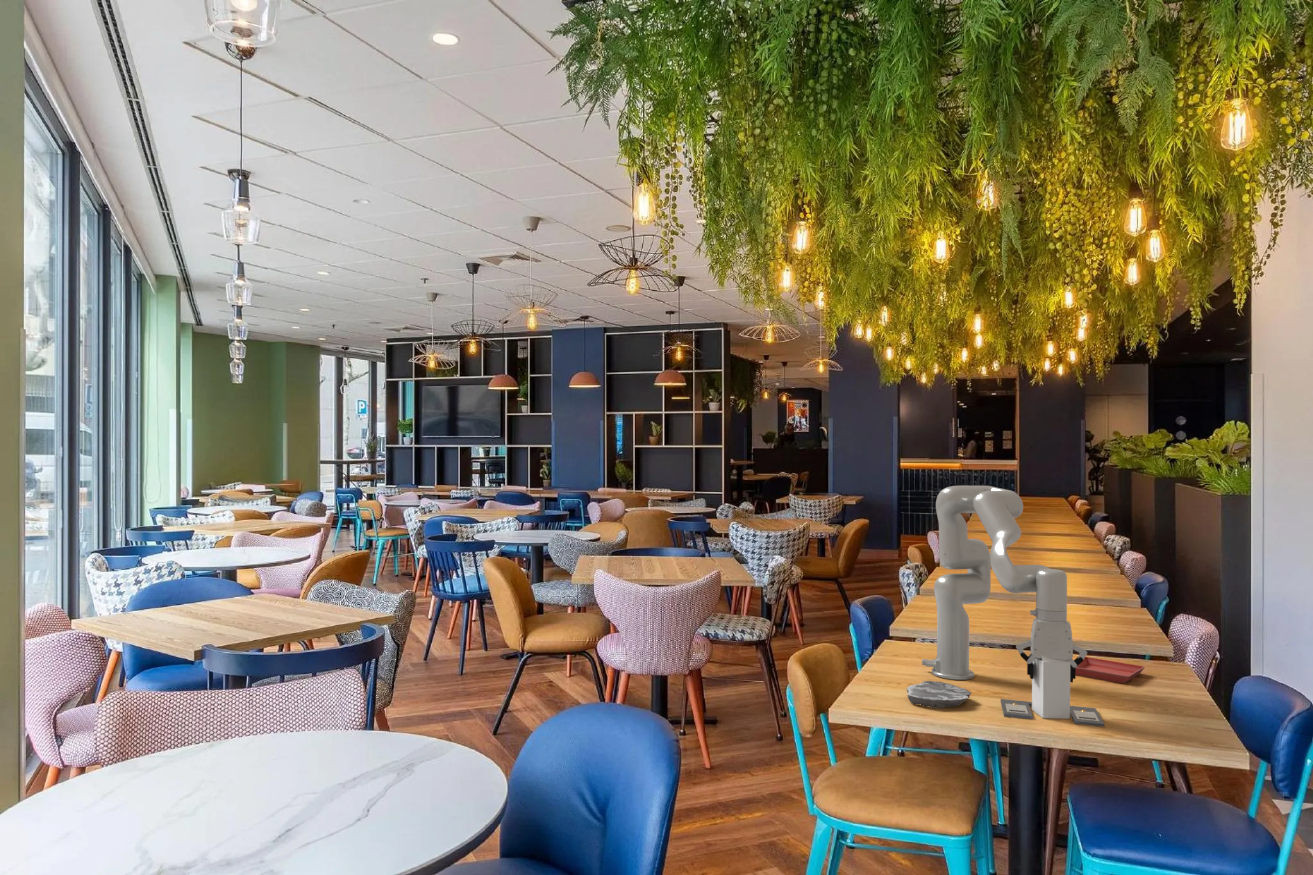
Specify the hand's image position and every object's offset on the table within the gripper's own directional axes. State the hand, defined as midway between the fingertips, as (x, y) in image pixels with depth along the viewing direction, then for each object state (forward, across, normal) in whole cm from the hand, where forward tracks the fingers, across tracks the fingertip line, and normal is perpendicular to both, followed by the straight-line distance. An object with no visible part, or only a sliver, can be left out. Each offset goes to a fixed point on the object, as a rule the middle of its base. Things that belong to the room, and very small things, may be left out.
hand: (1051, 679), depth 228 cm
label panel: (+9, 0, 0) cm, 9 cm away
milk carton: (+10, 0, 0) cm, 10 cm away
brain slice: (+10, -28, +3) cm, 30 cm away
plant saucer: (+10, +22, +51) cm, 56 cm away
